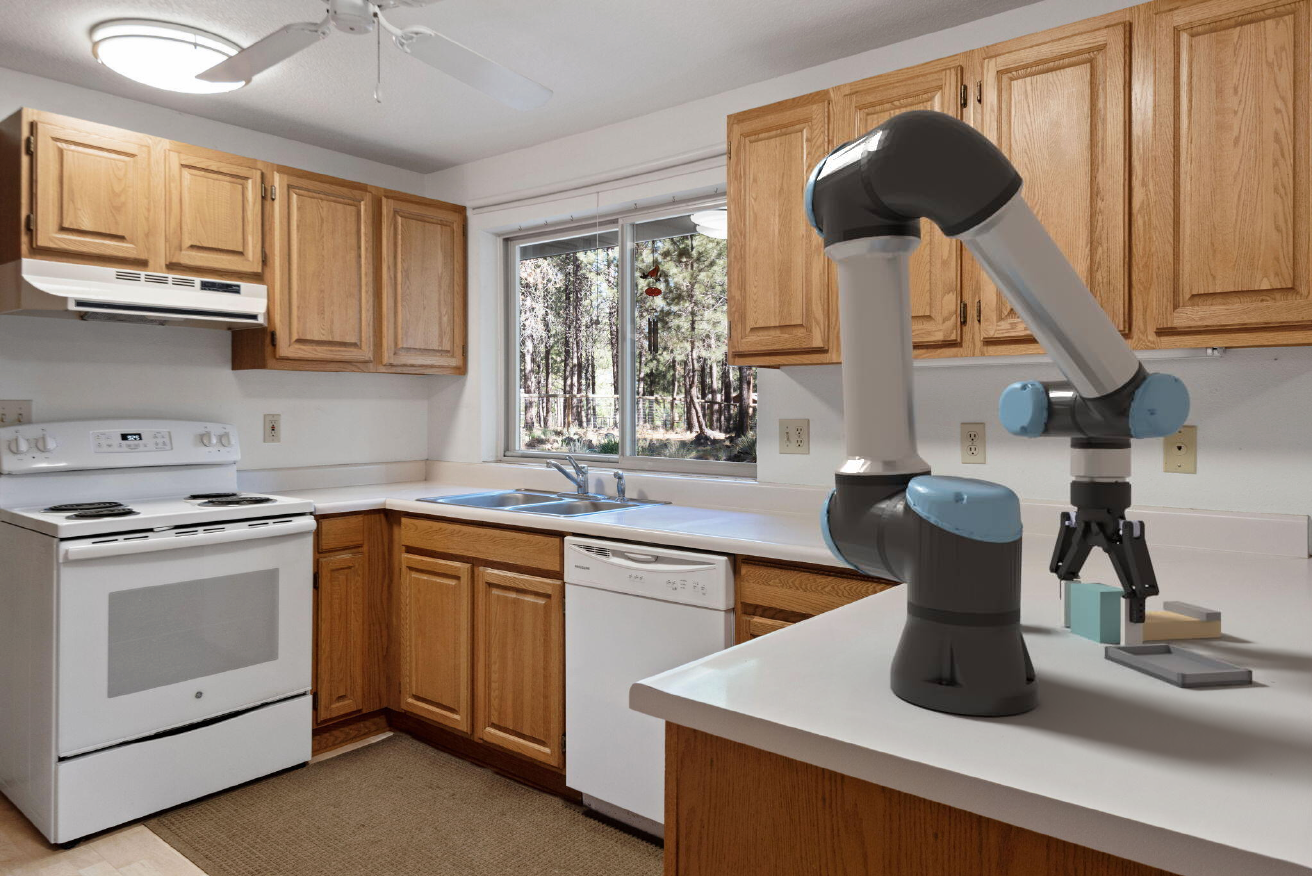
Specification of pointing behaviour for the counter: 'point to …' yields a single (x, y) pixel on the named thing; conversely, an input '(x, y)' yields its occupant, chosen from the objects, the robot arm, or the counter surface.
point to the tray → (1178, 665)
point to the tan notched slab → (1181, 622)
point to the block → (1096, 612)
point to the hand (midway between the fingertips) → (1099, 635)
